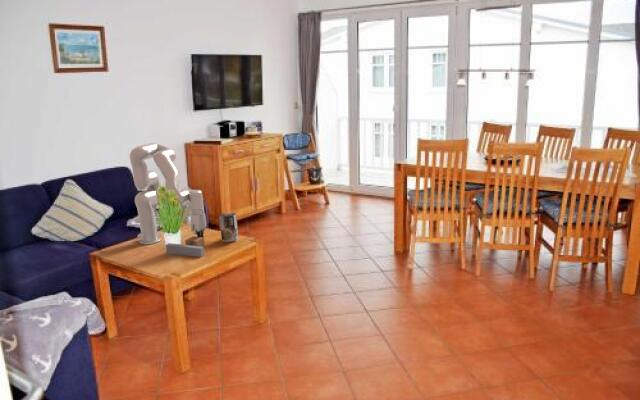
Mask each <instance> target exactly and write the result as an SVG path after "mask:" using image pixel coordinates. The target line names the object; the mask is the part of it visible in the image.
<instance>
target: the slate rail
mask: <svg viewBox="0 0 640 400" xmlns="http://www.w3.org/2000/svg"><path fill="white" fill-rule="evenodd" d="M165 250H166V251H165V252H166V254H170V255H180V256H190V257H198V258H199V257H200V258H203V257H204V256H205V247H201V246H191V245H186V244H180V243H170V242H169V243H166V244H165Z"/></svg>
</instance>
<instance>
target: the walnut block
mask: <svg viewBox="0 0 640 400" xmlns="http://www.w3.org/2000/svg"><path fill="white" fill-rule="evenodd" d="M184 242H185V245H191V246H201V247H204V248H205V247H206V246H205V236H204V237H197V236H191V237H188V238H187V239H185V241H184Z"/></svg>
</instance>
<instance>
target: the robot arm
mask: <svg viewBox="0 0 640 400" xmlns="http://www.w3.org/2000/svg"><path fill="white" fill-rule="evenodd" d="M176 157H177V156H176V153H175V151H174V150H172V149H171V148H169V147H166V146H164V145H161V144H158V143H157V142H156V143H154V142H151V143H147V144H143V145H142V144H141V145H138V146H136V147H134V148H133V149H132V150H131V151H130V154H129V160H130V165H131V168H132V176H133V182H134V183H133V184H134V186H135V188H136V189H138V190H140V192H138V193H137V194H136V195H135V197H134V204H135V207H136V208H137V214H138V221H139V228H140V233H138V235H137V238H140V240H139V244H141V245H153V244H158V243H159V242H161V241H162V238H161V237H160V236H159V234H158V228H157V227H158V226H157V220H156V213H155V210H154V208H153V207H152V205H154V204H156V203H158V201H157V195H156V191H157V189H158V187H159V186H160V187H161V184H160V180H159V179H160V178H159V176H158V174H157V173H156V172H155V171H153V170H148V166H147V163H146V161H145V160H149V159H153V161H154V163H155V164H156V166H157V168H158V170H159V171H160V172H161V175H162V176H163V177H164V180H165V182H164V184H165V189H167V190H170V189H173V190H174V191H175V192H176V194H177V196H178V199H179V203H180V205H179V206H182V205H184V204H186V203H189V205H190V207H189V208H190V229H191V230H190V231H191V232H193V234H194V235H196V237H204V238H205V236H204V234H205V231H206V229H207V219H206V218H207V217H206V213H205V206H204V198H203V191H202V190H200V189H190V188H185V189H181V190H179V189H178V186H177V185H176V179H177V176H178V174H179V171H178V169H177V167H176V166H175V165H174V162H175V160H176ZM145 189H146V190H145ZM141 190H142V191H141Z"/></svg>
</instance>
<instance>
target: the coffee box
mask: <svg viewBox="0 0 640 400" xmlns="http://www.w3.org/2000/svg"><path fill="white" fill-rule="evenodd" d="M218 219H219V226H220V235H221V242H222V243H223V242H227V243H228V242H237V241H238V240H239V238H240V237H239V228H238V220H237V219H238V218H237V213H236V212H229V213H227V212H226V213H221V214H220V215H219V216H218Z"/></svg>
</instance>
